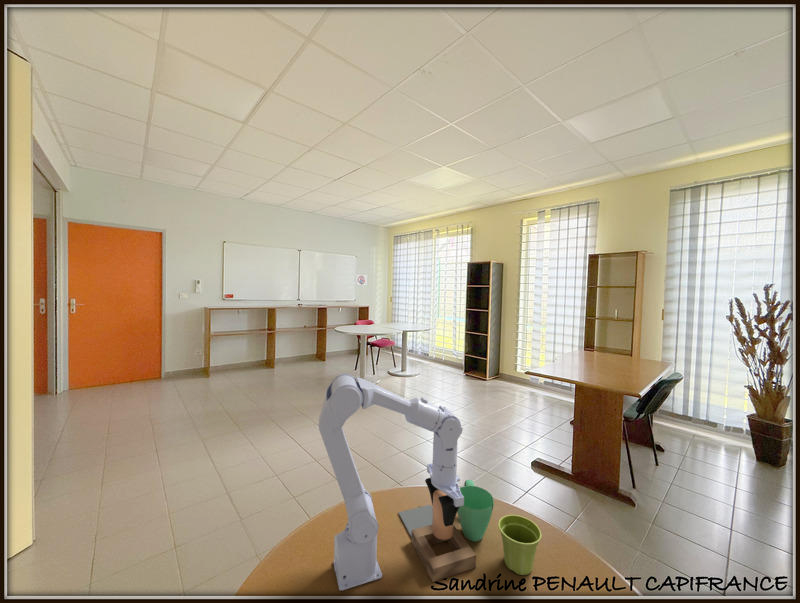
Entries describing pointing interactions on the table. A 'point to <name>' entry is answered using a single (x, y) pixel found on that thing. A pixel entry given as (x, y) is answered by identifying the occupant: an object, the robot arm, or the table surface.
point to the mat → (417, 517)
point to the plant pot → (519, 542)
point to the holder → (447, 562)
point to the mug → (475, 510)
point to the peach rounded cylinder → (440, 518)
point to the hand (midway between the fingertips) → (442, 516)
